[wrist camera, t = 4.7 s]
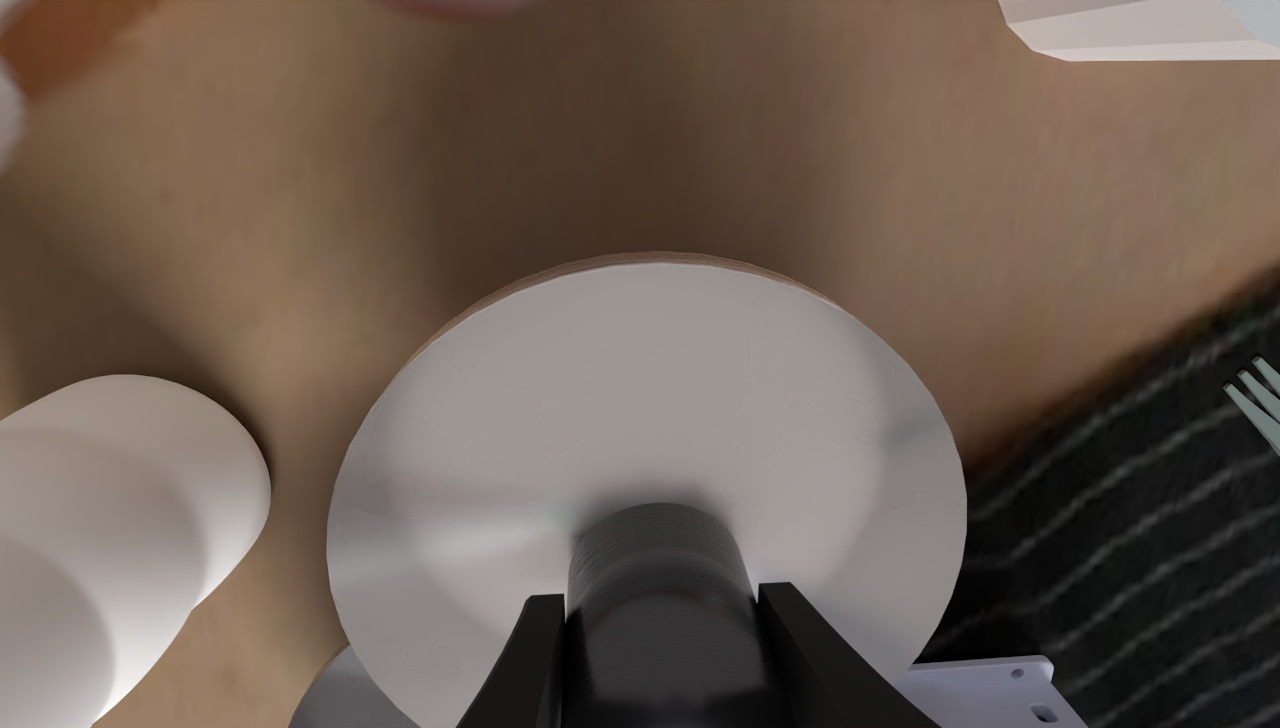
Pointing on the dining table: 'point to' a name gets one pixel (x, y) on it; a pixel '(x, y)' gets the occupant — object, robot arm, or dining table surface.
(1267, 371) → the cutlery set
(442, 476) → the steel lid
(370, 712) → the cooking pot
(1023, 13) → the white cup
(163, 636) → the water bottle
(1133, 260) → the dining table surface
